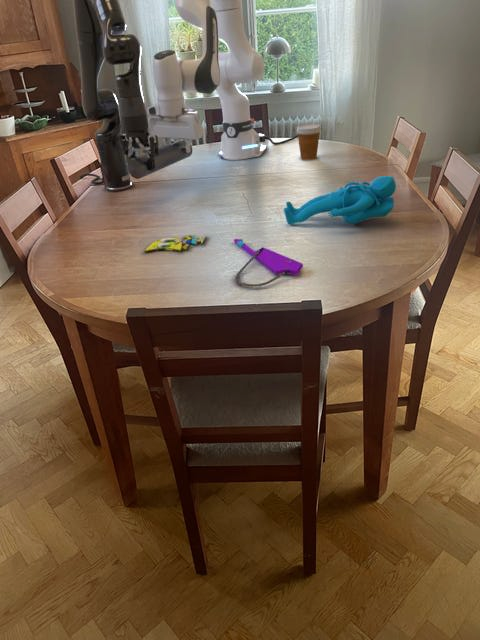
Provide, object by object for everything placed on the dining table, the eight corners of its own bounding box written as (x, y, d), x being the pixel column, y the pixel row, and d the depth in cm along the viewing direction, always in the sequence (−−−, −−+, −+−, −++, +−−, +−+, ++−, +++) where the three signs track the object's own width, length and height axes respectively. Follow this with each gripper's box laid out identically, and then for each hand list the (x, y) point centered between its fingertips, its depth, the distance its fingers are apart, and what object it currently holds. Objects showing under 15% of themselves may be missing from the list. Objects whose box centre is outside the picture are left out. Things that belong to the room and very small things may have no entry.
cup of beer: (293, 160, 191) (293, 129, 184) (300, 154, 198) (300, 123, 192) (317, 161, 188) (317, 129, 181) (323, 154, 195) (323, 123, 188)
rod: (144, 179, 148) (140, 159, 145) (129, 178, 151) (125, 158, 148) (193, 157, 166) (191, 139, 163) (179, 156, 169) (177, 138, 166)
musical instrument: (279, 298, 104) (317, 250, 116) (277, 290, 102) (316, 243, 115) (192, 283, 116) (235, 241, 129) (190, 275, 115) (233, 234, 127)
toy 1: (199, 248, 125) (143, 249, 127) (199, 251, 125) (144, 252, 127) (206, 233, 133) (154, 234, 135) (206, 236, 133) (154, 237, 136)
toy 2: (287, 190, 142) (392, 164, 131) (296, 223, 147) (398, 200, 137) (279, 211, 128) (395, 184, 118) (289, 247, 133) (402, 223, 123)
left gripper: (160, 110, 142) (169, 168, 151) (124, 109, 148) (134, 164, 157) (143, 116, 136) (153, 174, 145) (107, 114, 143) (119, 171, 152)
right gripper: (203, 106, 153) (208, 151, 161) (154, 105, 163) (161, 147, 171) (192, 110, 149) (197, 156, 156) (142, 109, 159) (150, 152, 166)
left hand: (143, 169), depth 151 cm, fingers open, 6 cm apart
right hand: (178, 151), depth 164 cm, fingers closed on rod, 6 cm apart
